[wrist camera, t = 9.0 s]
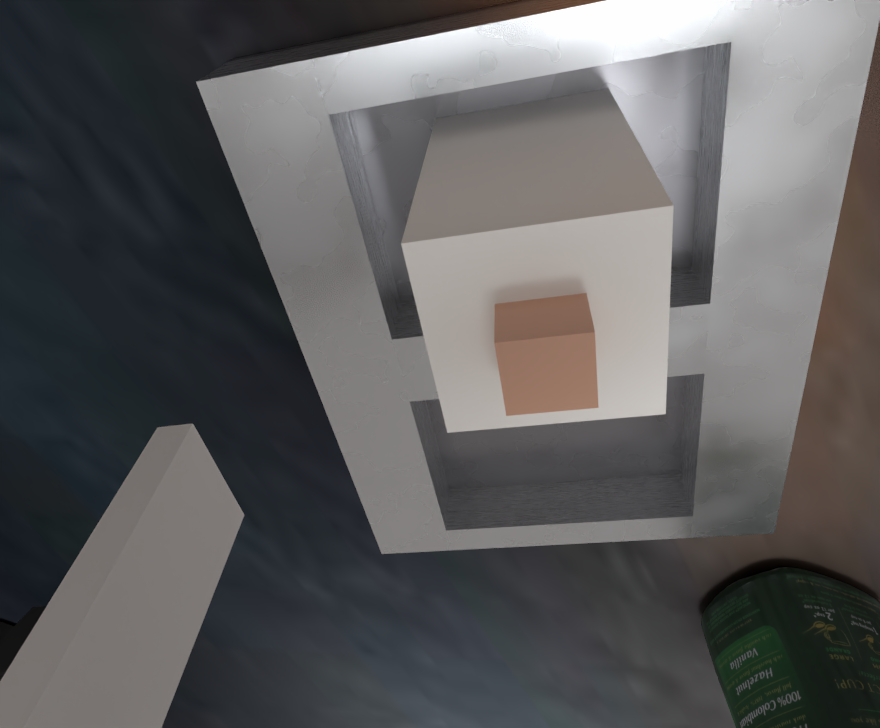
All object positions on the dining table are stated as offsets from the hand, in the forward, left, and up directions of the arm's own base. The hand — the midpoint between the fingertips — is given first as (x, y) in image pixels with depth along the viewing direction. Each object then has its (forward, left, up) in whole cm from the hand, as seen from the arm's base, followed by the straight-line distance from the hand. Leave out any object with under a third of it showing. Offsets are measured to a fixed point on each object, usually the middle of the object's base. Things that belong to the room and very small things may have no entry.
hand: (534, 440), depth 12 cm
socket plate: (0, -5, -13) cm, 14 cm away
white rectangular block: (0, 0, -12) cm, 12 cm away
